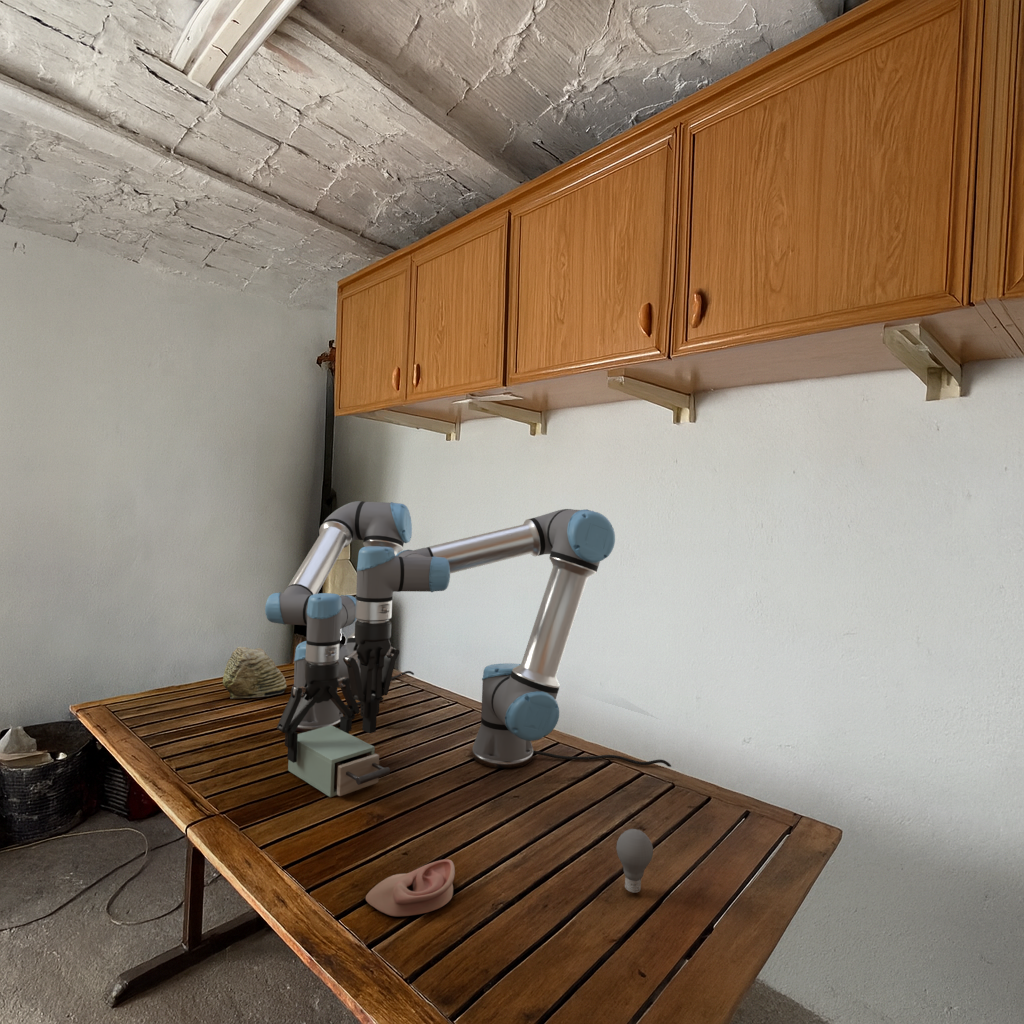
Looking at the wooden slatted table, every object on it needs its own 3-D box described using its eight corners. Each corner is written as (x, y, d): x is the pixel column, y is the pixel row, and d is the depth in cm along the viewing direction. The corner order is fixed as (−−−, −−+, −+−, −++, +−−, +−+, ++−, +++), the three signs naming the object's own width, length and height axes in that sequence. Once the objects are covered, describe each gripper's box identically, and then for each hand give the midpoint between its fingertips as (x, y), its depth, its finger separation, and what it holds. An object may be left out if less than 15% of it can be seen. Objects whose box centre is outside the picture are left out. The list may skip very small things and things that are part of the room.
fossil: (218, 695, 195) (220, 647, 195) (278, 685, 208) (279, 640, 207) (228, 703, 189) (230, 653, 188) (289, 692, 201) (290, 645, 201)
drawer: (393, 790, 136) (394, 762, 136) (354, 805, 129) (355, 776, 129) (336, 759, 151) (337, 733, 151) (298, 771, 143) (299, 744, 143)
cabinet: (373, 781, 142) (374, 746, 142) (330, 797, 134) (331, 760, 134) (329, 757, 154) (331, 725, 154) (287, 770, 146) (289, 736, 145)
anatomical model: (357, 884, 98) (387, 845, 109) (356, 910, 98) (386, 868, 109) (440, 899, 95) (461, 857, 106) (439, 925, 95) (460, 881, 106)
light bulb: (610, 879, 108) (613, 822, 108) (644, 879, 109) (647, 822, 109) (619, 902, 102) (622, 840, 102) (655, 901, 103) (658, 840, 103)
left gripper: (280, 673, 135) (276, 773, 135) (376, 656, 153) (372, 743, 154) (263, 666, 140) (259, 762, 140) (358, 650, 158) (355, 735, 159)
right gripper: (357, 626, 126) (352, 743, 127) (409, 619, 136) (404, 728, 136) (336, 620, 131) (332, 733, 132) (387, 613, 141) (383, 719, 141)
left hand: (318, 752), depth 147 cm, fingers open, 13 cm apart
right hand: (369, 730), depth 134 cm, fingers closed
